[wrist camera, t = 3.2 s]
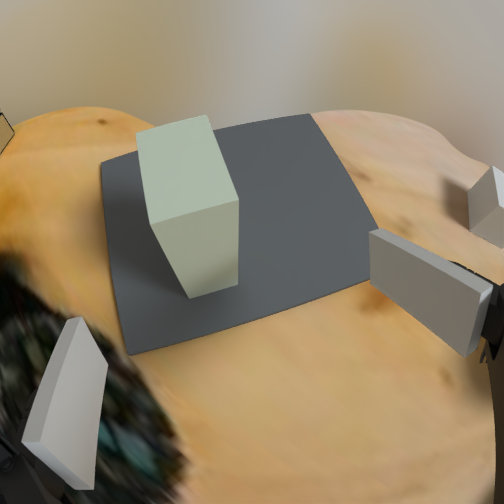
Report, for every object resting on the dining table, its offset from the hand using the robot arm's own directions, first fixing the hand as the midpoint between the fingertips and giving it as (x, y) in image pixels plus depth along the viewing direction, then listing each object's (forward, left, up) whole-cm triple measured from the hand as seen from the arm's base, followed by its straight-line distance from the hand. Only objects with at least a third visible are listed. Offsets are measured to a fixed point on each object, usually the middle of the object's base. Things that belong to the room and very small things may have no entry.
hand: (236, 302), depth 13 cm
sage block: (-1, +7, -11) cm, 13 cm away
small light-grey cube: (+32, +2, -12) cm, 35 cm away
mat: (+3, +11, -12) cm, 16 cm away
